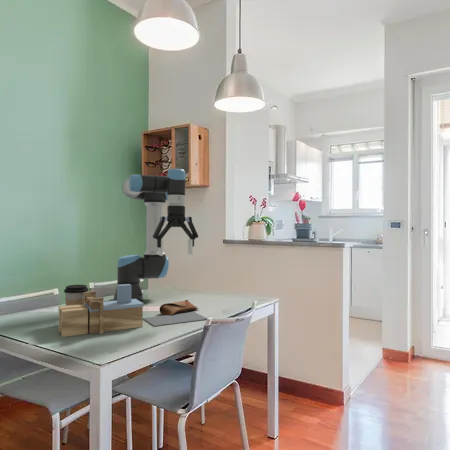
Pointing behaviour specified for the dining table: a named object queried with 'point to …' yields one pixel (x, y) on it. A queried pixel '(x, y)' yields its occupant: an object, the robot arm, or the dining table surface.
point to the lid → (120, 300)
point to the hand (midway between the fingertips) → (175, 255)
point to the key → (91, 303)
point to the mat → (174, 319)
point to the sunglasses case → (177, 307)
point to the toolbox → (97, 318)
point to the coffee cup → (75, 294)
